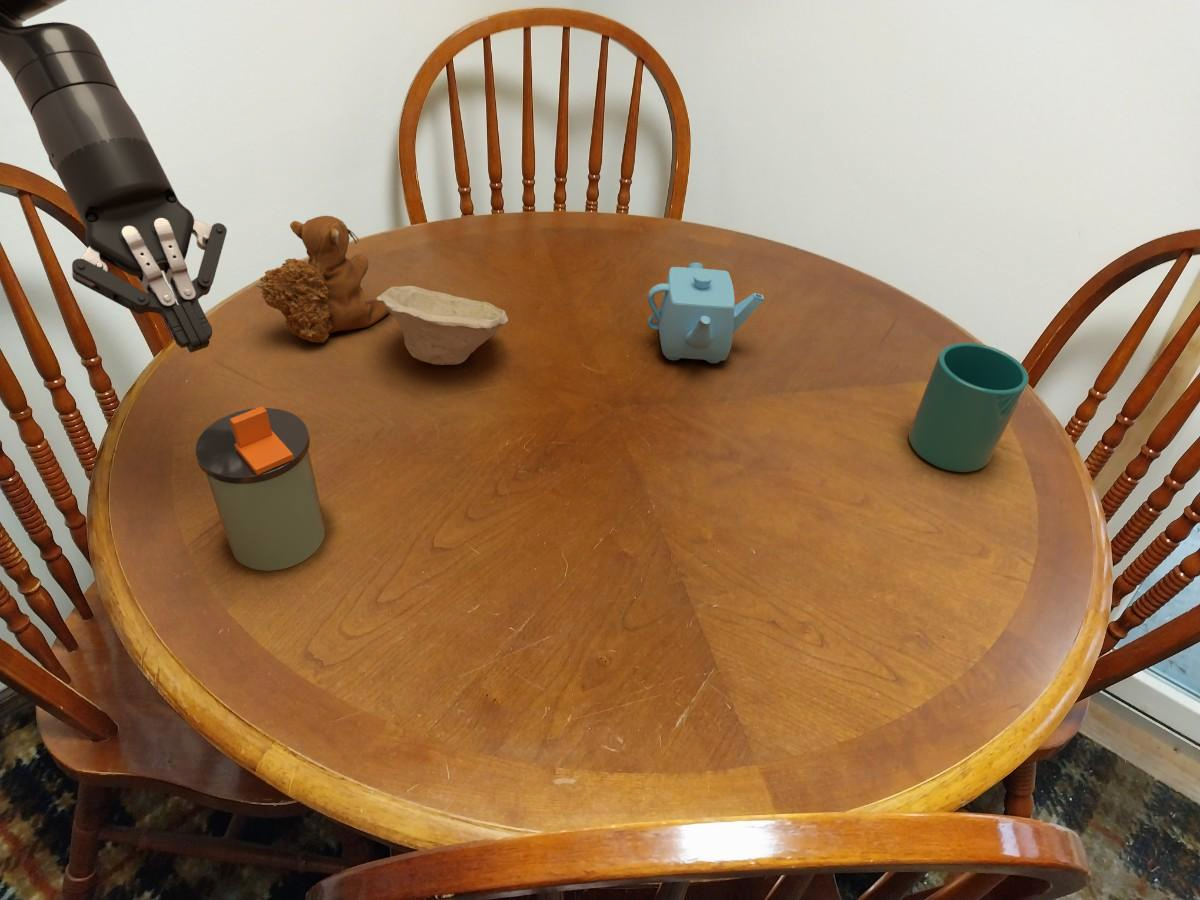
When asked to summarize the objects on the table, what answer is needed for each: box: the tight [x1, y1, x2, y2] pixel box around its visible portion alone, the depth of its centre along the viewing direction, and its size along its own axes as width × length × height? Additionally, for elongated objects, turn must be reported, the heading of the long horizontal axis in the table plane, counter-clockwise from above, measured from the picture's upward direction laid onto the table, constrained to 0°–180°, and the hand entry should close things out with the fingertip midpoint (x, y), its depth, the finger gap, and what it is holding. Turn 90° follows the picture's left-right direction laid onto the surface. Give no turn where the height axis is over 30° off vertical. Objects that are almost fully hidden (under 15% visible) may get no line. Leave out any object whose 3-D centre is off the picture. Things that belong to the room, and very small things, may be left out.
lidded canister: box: [194, 407, 326, 572], centre depth 75 cm, size 9×9×12 cm
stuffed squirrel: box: [255, 215, 390, 344], centre depth 102 cm, size 10×14×13 cm
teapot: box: [647, 261, 765, 364], centre depth 104 cm, size 18×14×10 cm
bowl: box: [376, 285, 509, 366], centre depth 99 cm, size 15×14×10 cm
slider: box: [230, 405, 294, 475], centre depth 69 cm, size 4×3×3 cm
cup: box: [908, 342, 1029, 473], centre depth 93 cm, size 9×12×11 cm
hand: (200, 347), depth 72 cm, fingers closed
